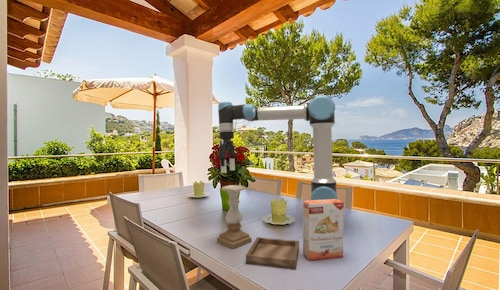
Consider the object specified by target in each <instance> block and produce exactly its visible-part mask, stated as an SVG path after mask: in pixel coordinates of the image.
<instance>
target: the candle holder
mask: <svg viewBox="0 0 500 290" xmlns="http://www.w3.org/2000/svg"><path fill="white" fill-rule="evenodd" d="M221 190H222V191H223V192H224V191H225V192H227V194H228V196H229V199H228V200H227V204H228V205H229V209H228V212H226V214H225V221H226V222H227V224H226V228H227V230H226V231H224V232H222V233H220V234H219V235H218V237H216V242H217V243H218V244H220V245H223V246H225V247H227V248H229V249H232V250H235V249H237V248H240V247H242V246H245V245H247V244H249V243H252V241H253V240H252V237H251V236H250V234H249V233H247V232H245V231H243V230H242V225H241V222H242V220H243V214H242V213H241V211H240V210H239V208H238V207H239V204H240V201H241V200H239V194H240V193H241V192H242V191H244V190H246V186H245V185H240V184H229V185H224V186H222V187H221Z"/></svg>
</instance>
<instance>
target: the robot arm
mask: <svg viewBox="0 0 500 290" xmlns="http://www.w3.org/2000/svg"><path fill="white" fill-rule="evenodd" d="M217 107H218V110H217V111H218V128H219V140H220V142H219V143H220V144H219V152H218V157H217V158H218V161H220V162H219V163H220V174H227V172H228V171H227V159H226V157H227V153H228V156H229V171H235V170H236V163H235V162H236V161H235V159H237V156H236V151H235V146H234V138H235V135H234V133H235V131H234V121H237V120H245V121H248V122H254V121H255V122H256V121H279V120H280V121H281V120H284V121H285V120H287V121H288V120H304V121H306V122H309V125H310V126H311V128H312V141H313V142H312V143H313V175H314V176H313V178H312V179H311V180H310V182H311V183H310V185H311V186H310V187H311V190H310V191H311V195H310V200H325V199H337V200H339V196H338V194H337V180H336V179H335V178H334V175H333V139H332V137H333V136H332V132H333V131H332V127H333V126H335V123H336V122H335V121H336V120H335V119H336V118H335V110H336V104H335V101H334V100H333V99H332V97H330V96H328V95H324V94H320V95H317V96H314V97H313V98H312V99H311V100H310V102H305V103H304V104H298V105H277V106H274V105H273V106H259V107H258V106H255V105H254V104H253V103H246V104H236V105H233V103H232V101H231V102H230V101H221V102H219V103H218V105H217Z"/></svg>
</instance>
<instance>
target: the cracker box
mask: <svg viewBox="0 0 500 290" xmlns="http://www.w3.org/2000/svg"><path fill="white" fill-rule="evenodd" d="M302 210H303V211H302V254H303V256H304V257H305V258H306V259H307V260H308V261H315V260H324V259H334V258H336V259H337V258H342V257H344V215H345V214H344V212H345V211H344V210H345V209H344V201H342V200H339V199H338V200H337V199H325V200H311V199H310V200H309V199H308V200H303V201H302Z"/></svg>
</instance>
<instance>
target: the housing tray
mask: <svg viewBox="0 0 500 290" xmlns="http://www.w3.org/2000/svg"><path fill="white" fill-rule="evenodd" d="M299 251H300V241H299V240H291V239H282V238H281V239H280V238H268V237H259V236H258V237H256V238H255V240H254V241H253V243H252V245H251V246H250V248H249V250H248V251H247V253H246V254H245V264H247V265H255V266H262V265H263V266H264V267H271V266H272V267H274V268H279V267H280V268H282V269H288V268H290V269H289V270H296V267H297V262H298V257H299ZM280 268H279V269H280Z"/></svg>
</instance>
